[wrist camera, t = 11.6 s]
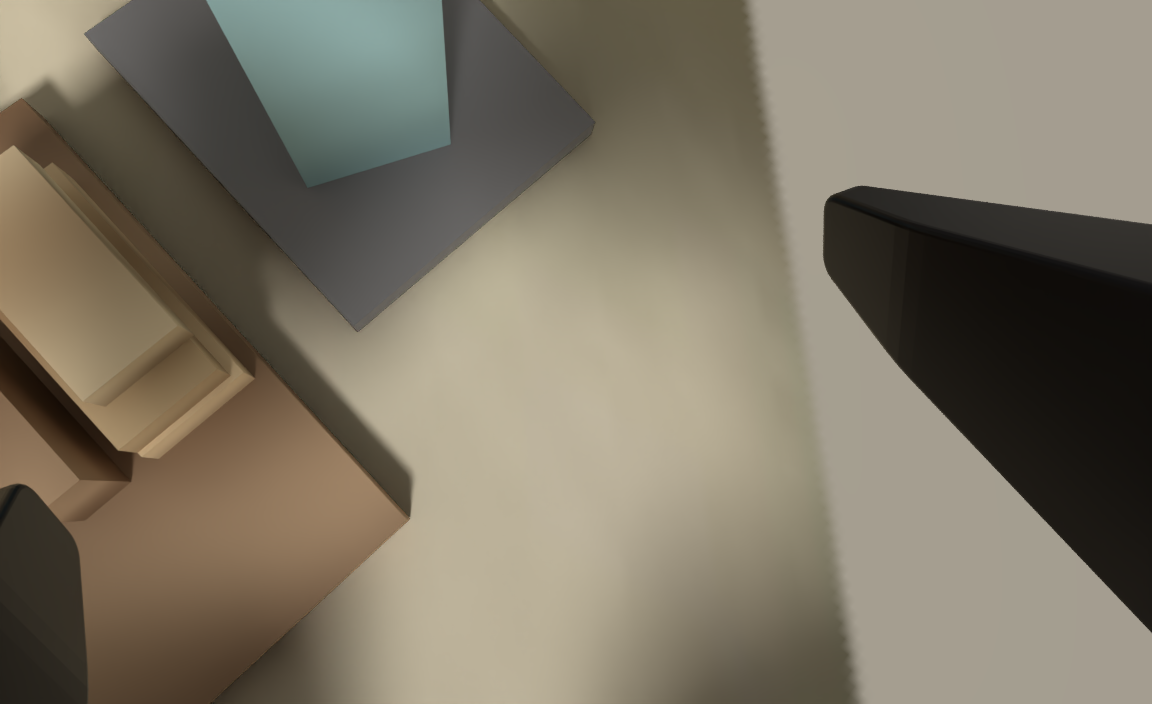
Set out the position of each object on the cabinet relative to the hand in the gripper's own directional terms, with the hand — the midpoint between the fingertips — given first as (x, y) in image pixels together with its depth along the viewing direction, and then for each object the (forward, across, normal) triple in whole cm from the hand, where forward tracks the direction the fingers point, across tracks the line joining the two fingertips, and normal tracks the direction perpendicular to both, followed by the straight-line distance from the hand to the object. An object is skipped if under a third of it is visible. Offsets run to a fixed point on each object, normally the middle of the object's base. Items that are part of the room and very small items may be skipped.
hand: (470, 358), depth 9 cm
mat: (+11, 0, 0) cm, 11 cm away
